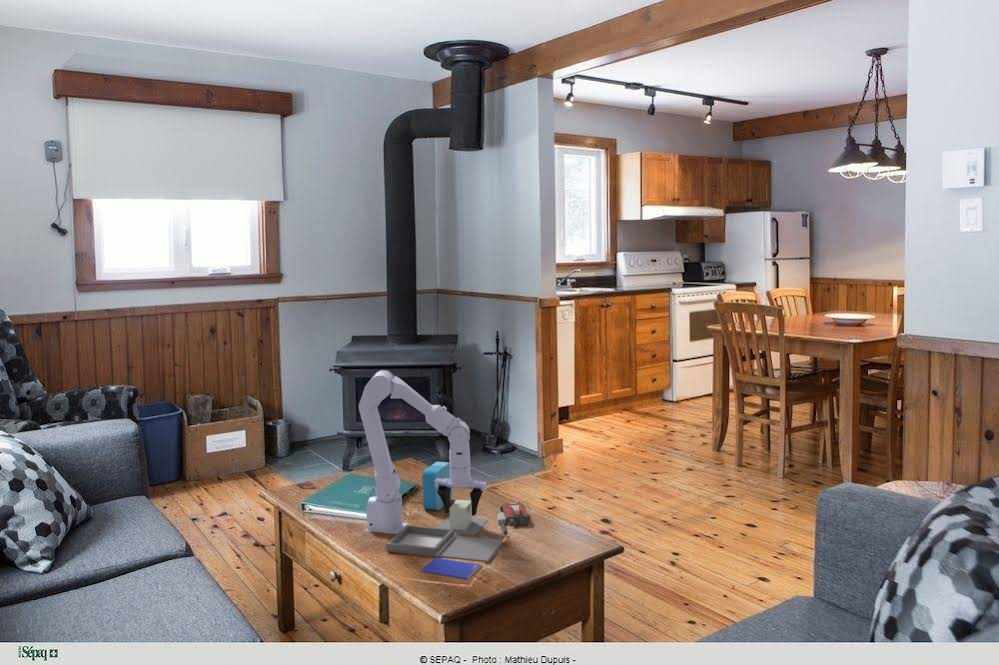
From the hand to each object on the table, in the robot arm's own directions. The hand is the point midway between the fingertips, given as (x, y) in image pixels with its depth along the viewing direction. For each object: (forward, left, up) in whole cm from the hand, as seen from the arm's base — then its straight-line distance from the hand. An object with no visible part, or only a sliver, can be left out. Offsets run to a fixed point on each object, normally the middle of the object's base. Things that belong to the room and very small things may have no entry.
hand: (461, 513), depth 220 cm
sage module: (0, 0, -3) cm, 3 cm away
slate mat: (0, 0, -4) cm, 4 cm away
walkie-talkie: (+13, +7, -5) cm, 15 cm away
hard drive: (+7, -28, -5) cm, 29 cm away
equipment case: (+1, -15, -4) cm, 16 cm away
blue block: (-13, +16, -4) cm, 21 cm away
